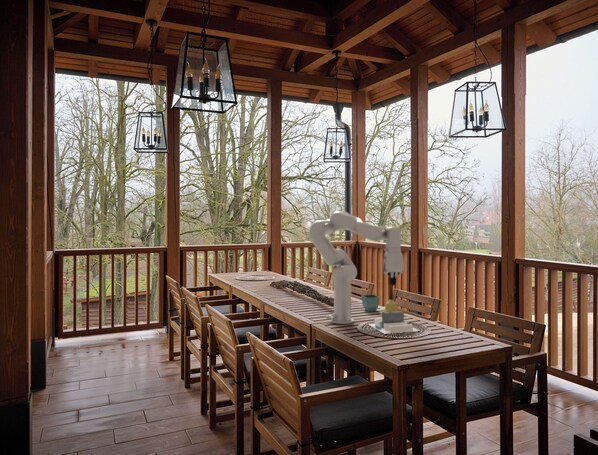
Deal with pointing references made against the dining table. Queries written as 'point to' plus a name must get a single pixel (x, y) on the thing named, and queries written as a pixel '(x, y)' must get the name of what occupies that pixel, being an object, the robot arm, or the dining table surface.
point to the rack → (392, 327)
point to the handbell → (390, 300)
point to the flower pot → (370, 302)
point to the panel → (392, 317)
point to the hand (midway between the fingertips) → (392, 284)
